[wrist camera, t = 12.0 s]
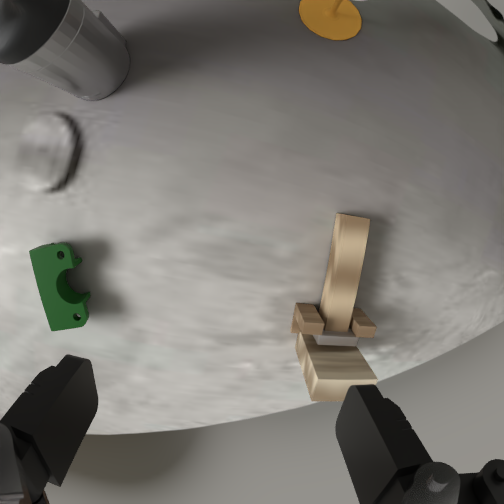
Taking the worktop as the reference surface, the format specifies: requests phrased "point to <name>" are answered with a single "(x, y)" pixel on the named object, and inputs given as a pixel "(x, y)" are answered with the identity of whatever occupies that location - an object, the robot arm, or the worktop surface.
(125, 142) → the worktop surface
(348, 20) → the cup
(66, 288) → the clamp
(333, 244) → the light wooden bar
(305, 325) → the post block
